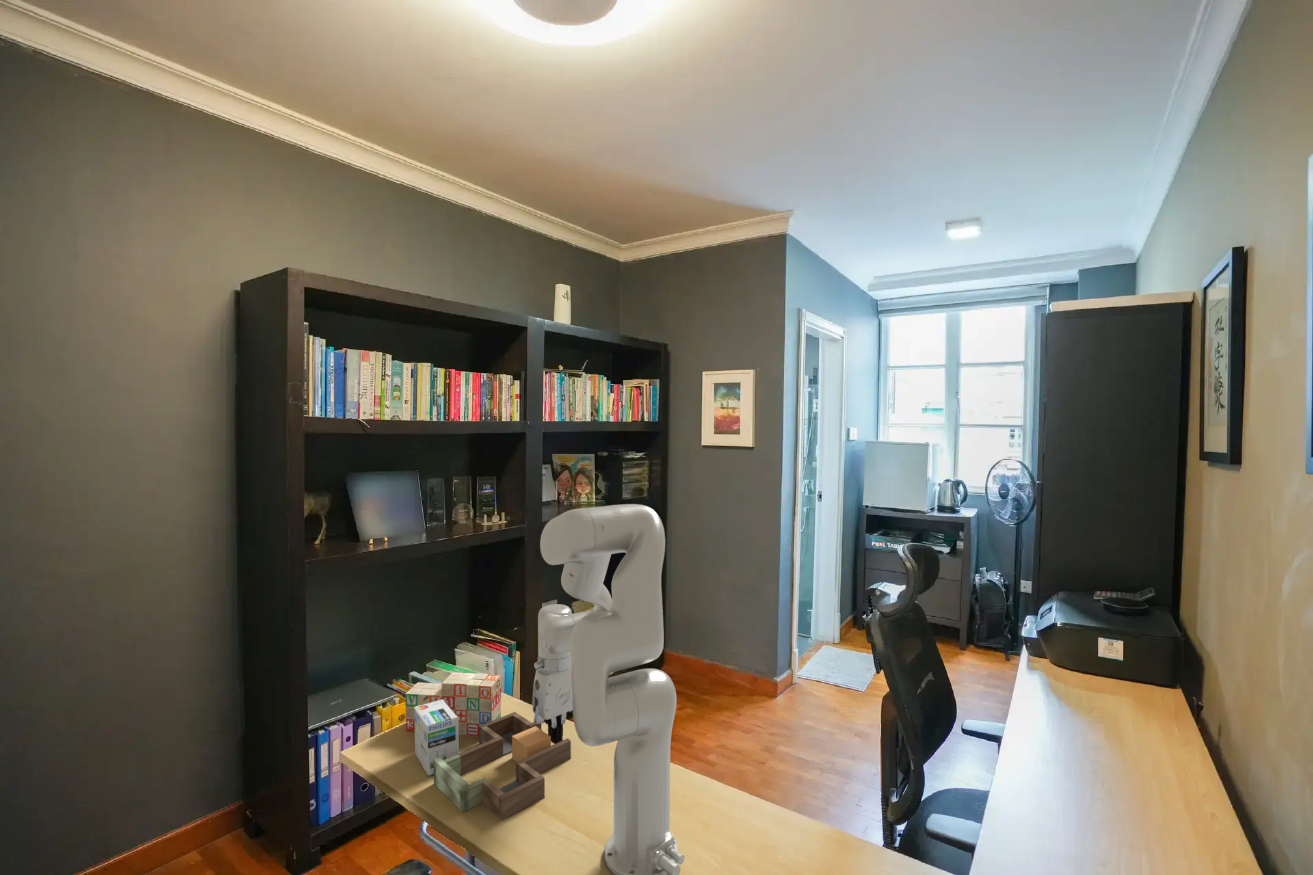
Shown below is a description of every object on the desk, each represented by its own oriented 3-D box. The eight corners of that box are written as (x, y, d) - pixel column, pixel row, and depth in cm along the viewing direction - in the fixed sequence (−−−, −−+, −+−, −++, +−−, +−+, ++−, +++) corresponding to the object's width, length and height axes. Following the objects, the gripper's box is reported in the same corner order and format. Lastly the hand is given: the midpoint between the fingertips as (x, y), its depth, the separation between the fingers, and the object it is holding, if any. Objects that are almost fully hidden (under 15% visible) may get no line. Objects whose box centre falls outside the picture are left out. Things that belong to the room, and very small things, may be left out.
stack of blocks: (404, 731, 142) (404, 680, 141) (418, 718, 148) (417, 669, 148) (491, 737, 139) (491, 685, 139) (501, 723, 146) (501, 673, 145)
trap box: (591, 772, 126) (591, 748, 126) (482, 830, 108) (482, 803, 108) (521, 725, 145) (521, 705, 144) (418, 768, 127) (418, 745, 127)
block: (550, 758, 131) (550, 736, 131) (527, 770, 127) (526, 746, 127) (535, 747, 135) (535, 726, 135) (512, 758, 131) (512, 735, 131)
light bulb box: (460, 766, 128) (459, 716, 128) (427, 777, 124) (427, 726, 123) (444, 744, 136) (443, 697, 136) (413, 753, 132) (412, 706, 132)
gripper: (536, 676, 127) (536, 761, 127) (591, 656, 137) (591, 735, 138) (517, 665, 132) (517, 747, 133) (572, 647, 143) (572, 723, 143)
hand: (555, 741), depth 135 cm, fingers closed
